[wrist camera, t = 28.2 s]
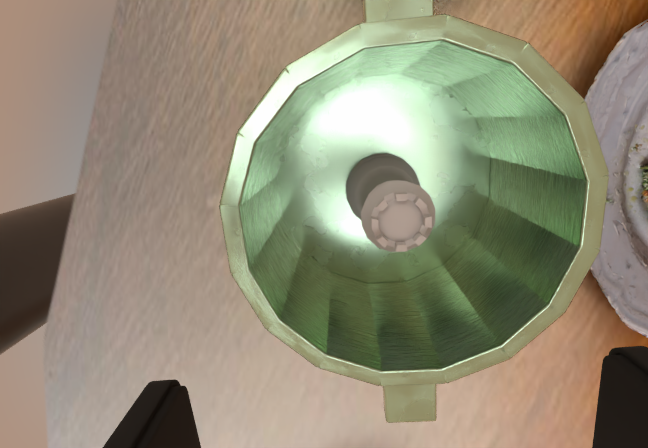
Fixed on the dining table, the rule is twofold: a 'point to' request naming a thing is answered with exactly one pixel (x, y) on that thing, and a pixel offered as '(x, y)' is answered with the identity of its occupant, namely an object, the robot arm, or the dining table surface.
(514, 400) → the dining table surface
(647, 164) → the food plate
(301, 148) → the pot
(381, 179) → the rook chess piece
